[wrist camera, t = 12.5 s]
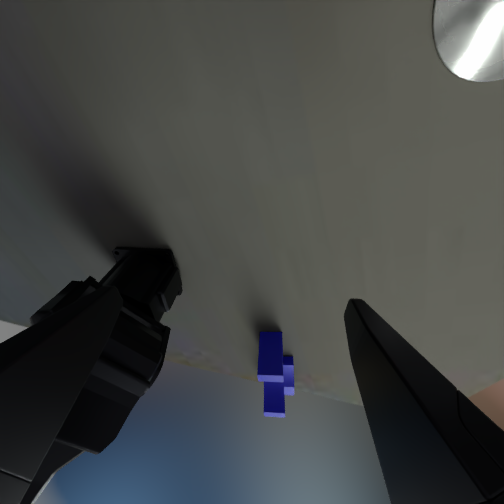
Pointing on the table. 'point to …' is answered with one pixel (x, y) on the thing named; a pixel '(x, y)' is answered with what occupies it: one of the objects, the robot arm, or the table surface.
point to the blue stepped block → (274, 373)
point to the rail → (470, 38)
